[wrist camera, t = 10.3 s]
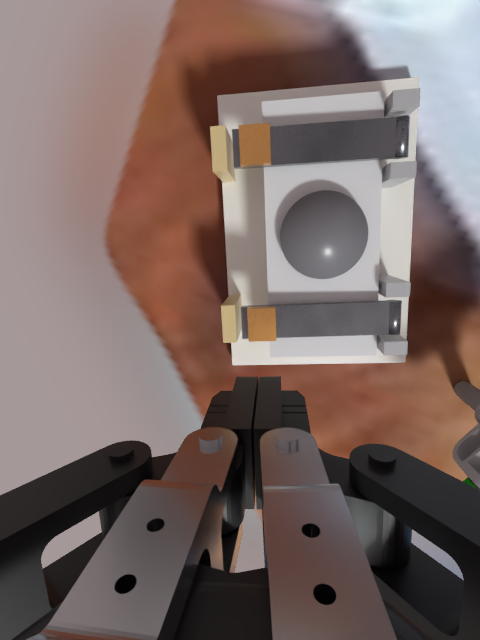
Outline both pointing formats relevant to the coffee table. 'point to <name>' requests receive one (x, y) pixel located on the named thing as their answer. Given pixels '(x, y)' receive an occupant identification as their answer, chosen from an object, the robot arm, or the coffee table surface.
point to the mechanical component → (469, 437)
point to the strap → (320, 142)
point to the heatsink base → (254, 219)
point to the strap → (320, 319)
